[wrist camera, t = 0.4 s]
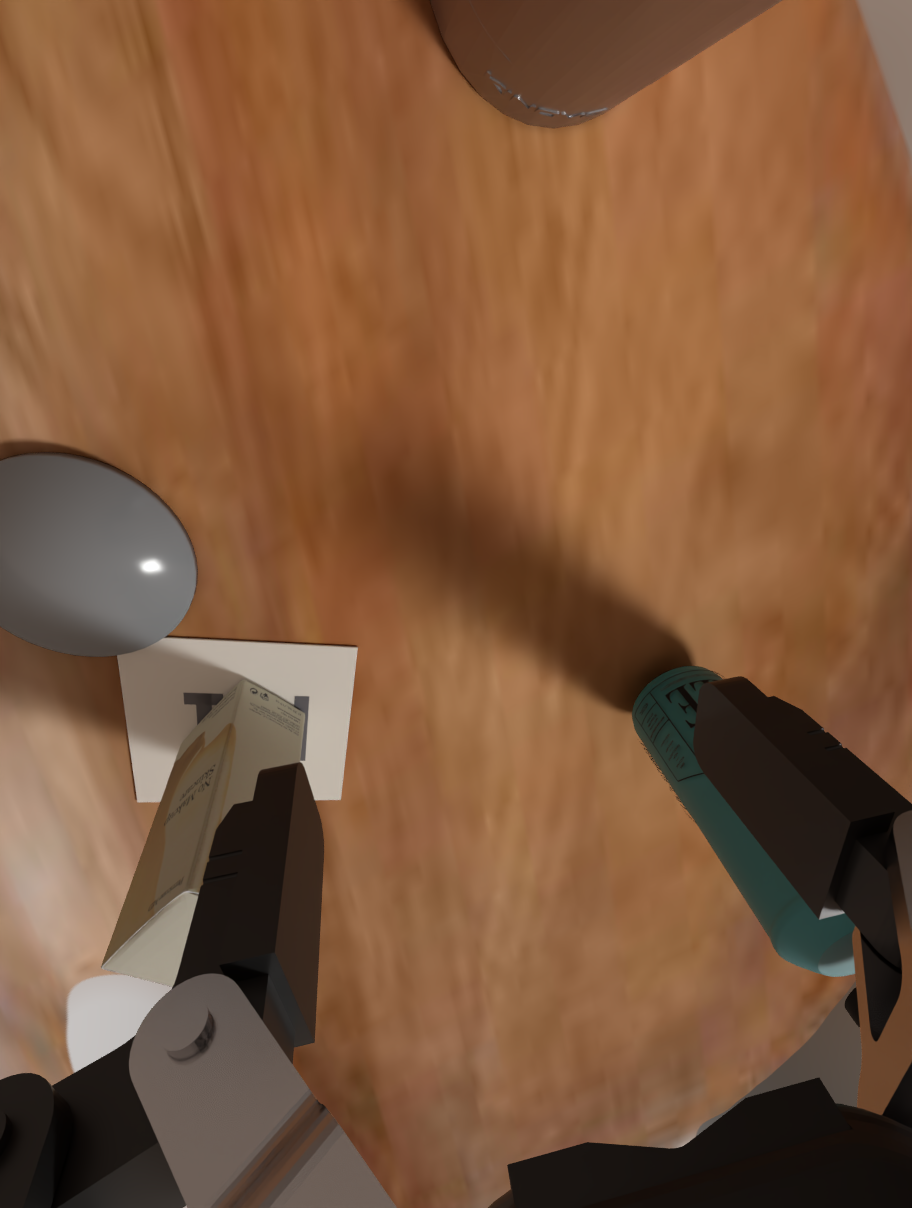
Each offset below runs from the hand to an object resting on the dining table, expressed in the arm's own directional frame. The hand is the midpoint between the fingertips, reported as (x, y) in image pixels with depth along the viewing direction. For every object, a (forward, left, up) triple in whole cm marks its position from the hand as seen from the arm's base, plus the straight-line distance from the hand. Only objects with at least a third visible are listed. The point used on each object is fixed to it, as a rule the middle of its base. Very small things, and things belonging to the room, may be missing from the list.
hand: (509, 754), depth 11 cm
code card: (+16, -8, -18) cm, 25 cm away
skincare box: (+16, -8, -18) cm, 25 cm away
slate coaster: (+6, -15, -18) cm, 24 cm away
